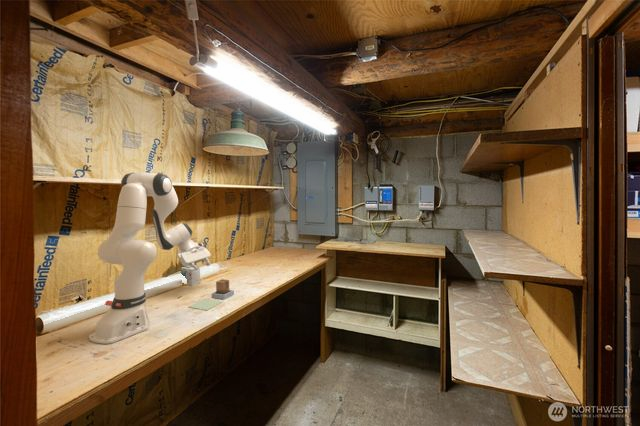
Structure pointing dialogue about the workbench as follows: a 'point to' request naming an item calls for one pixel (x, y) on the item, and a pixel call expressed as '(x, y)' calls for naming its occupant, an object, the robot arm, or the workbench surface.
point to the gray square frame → (221, 296)
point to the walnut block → (222, 286)
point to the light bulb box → (191, 275)
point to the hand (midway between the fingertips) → (203, 267)
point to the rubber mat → (205, 304)
